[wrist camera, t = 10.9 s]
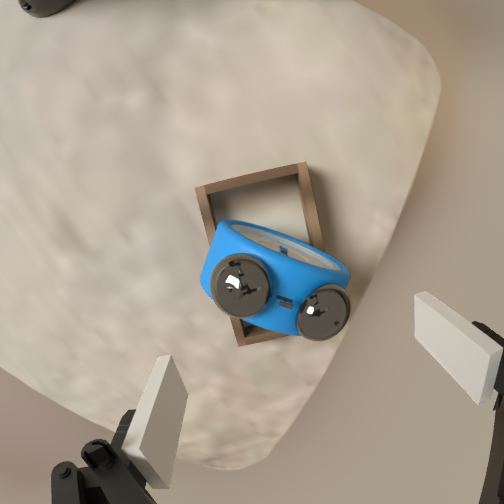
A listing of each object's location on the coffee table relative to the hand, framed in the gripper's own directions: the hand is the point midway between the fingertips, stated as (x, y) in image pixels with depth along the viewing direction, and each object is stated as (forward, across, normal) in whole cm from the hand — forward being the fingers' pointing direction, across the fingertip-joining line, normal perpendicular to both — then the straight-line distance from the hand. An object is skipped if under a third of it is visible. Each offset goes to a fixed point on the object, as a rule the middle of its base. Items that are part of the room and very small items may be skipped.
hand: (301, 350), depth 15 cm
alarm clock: (+22, 0, -1) cm, 22 cm away
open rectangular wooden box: (+23, 0, -1) cm, 23 cm away
